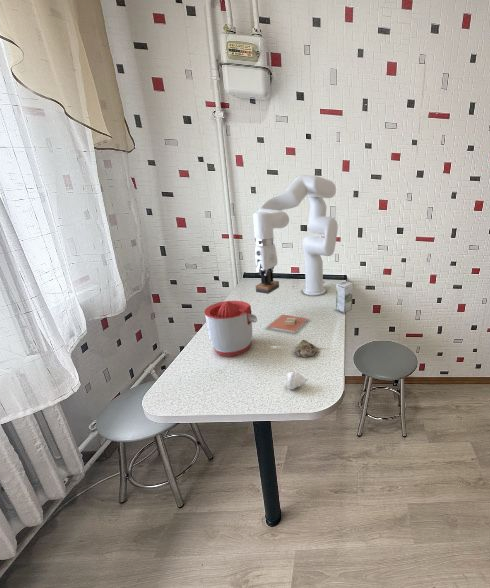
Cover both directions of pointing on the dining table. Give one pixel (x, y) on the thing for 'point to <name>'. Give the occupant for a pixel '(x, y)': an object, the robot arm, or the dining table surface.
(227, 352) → the citrus juicer
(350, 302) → the syrup box
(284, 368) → the dining table surface
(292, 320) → the cork chip
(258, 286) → the brush
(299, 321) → the tile
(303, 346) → the mineral rock
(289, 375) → the garlic bulb
